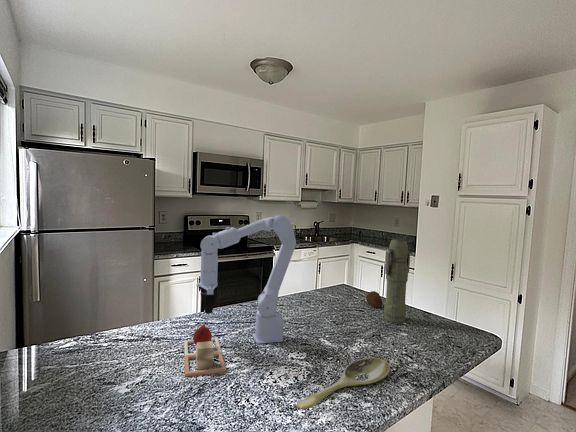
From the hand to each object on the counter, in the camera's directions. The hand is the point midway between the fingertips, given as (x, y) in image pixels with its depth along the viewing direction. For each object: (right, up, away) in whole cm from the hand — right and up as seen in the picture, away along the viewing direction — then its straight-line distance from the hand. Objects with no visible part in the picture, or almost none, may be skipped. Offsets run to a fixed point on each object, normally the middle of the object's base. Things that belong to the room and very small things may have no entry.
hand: (207, 309), depth 114 cm
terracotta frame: (+3, -11, -17) cm, 21 cm away
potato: (+70, -12, +47) cm, 85 cm away
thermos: (+74, -13, +28) cm, 80 cm away
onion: (0, -11, -7) cm, 13 cm away
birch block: (+3, -11, -17) cm, 21 cm away
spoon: (+43, -14, -24) cm, 52 cm away
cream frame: (0, -11, -7) cm, 13 cm away
